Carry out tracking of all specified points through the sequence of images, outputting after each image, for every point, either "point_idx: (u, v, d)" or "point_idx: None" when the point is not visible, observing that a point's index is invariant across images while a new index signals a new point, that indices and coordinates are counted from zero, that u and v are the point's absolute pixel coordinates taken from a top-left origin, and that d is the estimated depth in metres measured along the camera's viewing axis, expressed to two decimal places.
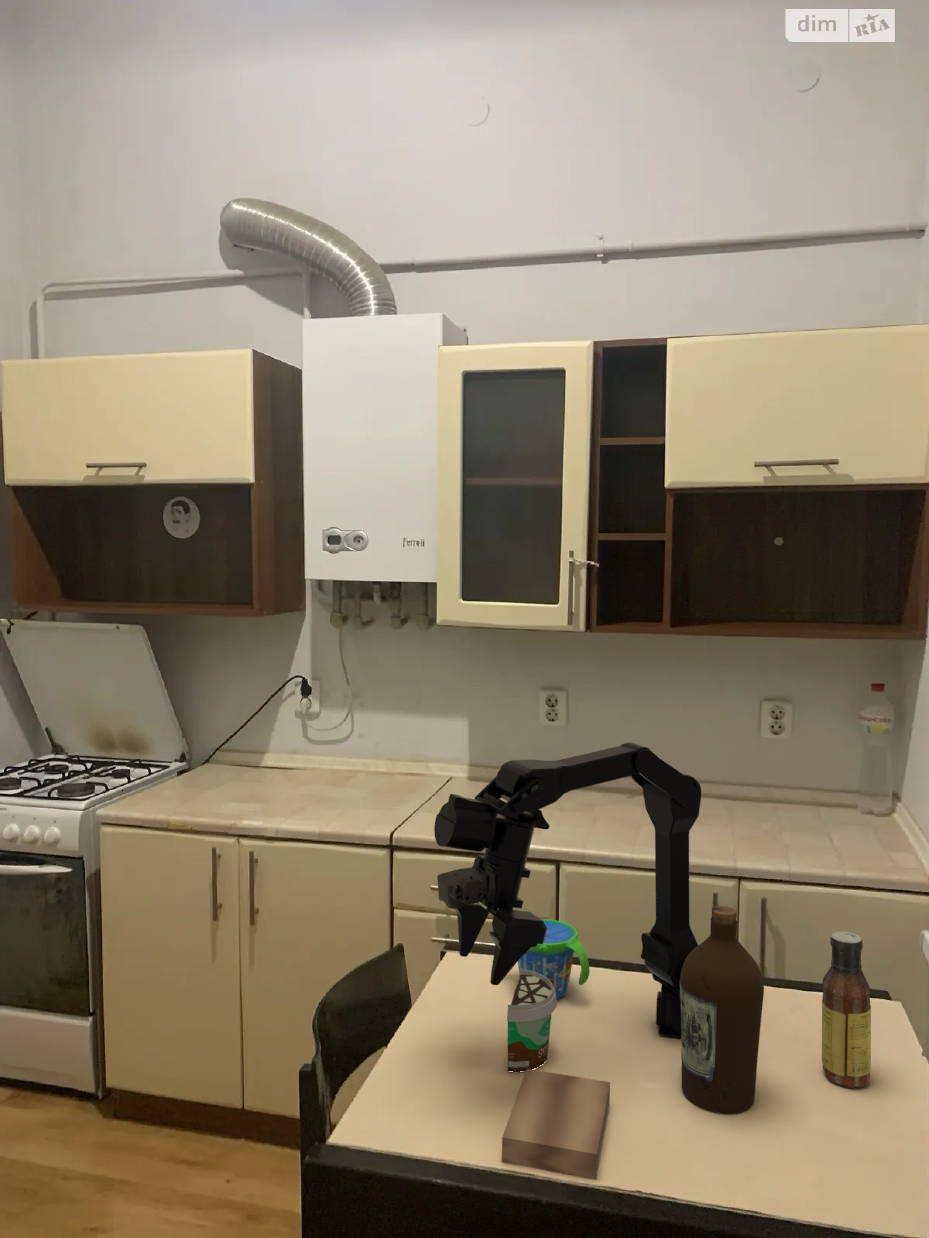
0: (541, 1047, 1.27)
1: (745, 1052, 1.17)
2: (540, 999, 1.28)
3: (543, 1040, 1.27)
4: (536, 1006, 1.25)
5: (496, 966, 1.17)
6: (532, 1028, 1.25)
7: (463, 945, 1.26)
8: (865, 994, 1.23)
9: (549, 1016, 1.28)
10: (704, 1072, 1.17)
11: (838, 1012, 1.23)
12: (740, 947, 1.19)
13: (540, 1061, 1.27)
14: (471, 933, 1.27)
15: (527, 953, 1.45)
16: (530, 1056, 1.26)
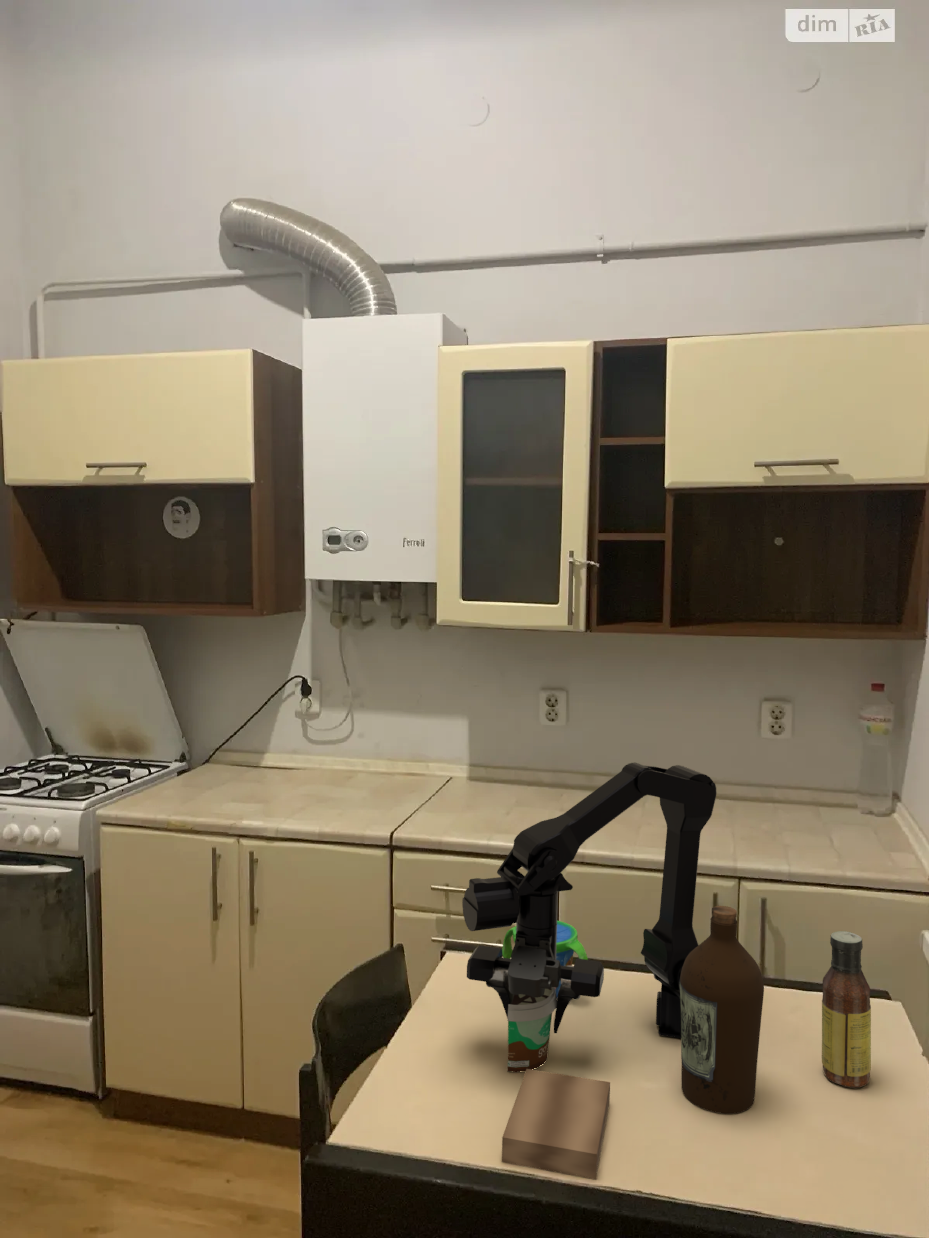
0: (541, 1047, 1.27)
1: (745, 1052, 1.17)
2: (540, 999, 1.28)
3: (543, 1040, 1.27)
4: (536, 1006, 1.25)
5: (561, 1017, 1.28)
6: (532, 1028, 1.25)
7: None
8: (865, 994, 1.23)
9: (549, 1016, 1.28)
10: (704, 1072, 1.17)
11: (838, 1012, 1.23)
12: (740, 947, 1.19)
13: (540, 1061, 1.27)
14: None
15: None
16: (530, 1056, 1.26)
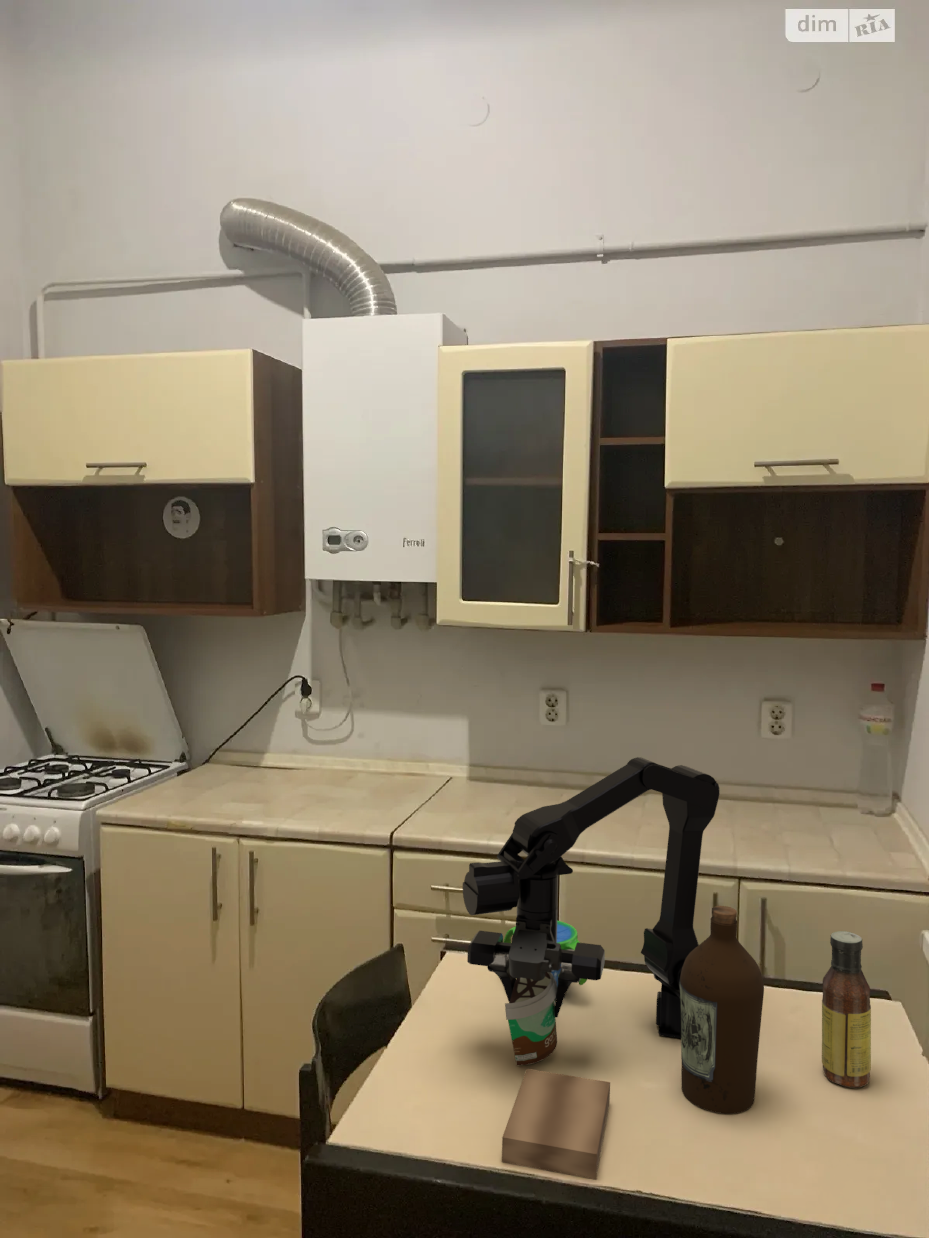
0: (547, 1037, 1.27)
1: (745, 1052, 1.17)
2: (539, 991, 1.28)
3: (548, 1030, 1.27)
4: (533, 1000, 1.25)
5: (562, 1001, 1.27)
6: (533, 1021, 1.25)
7: None
8: (865, 994, 1.23)
9: (550, 1006, 1.28)
10: (704, 1072, 1.17)
11: (838, 1012, 1.23)
12: (740, 947, 1.19)
13: (548, 1050, 1.28)
14: None
15: None
16: (537, 1047, 1.26)
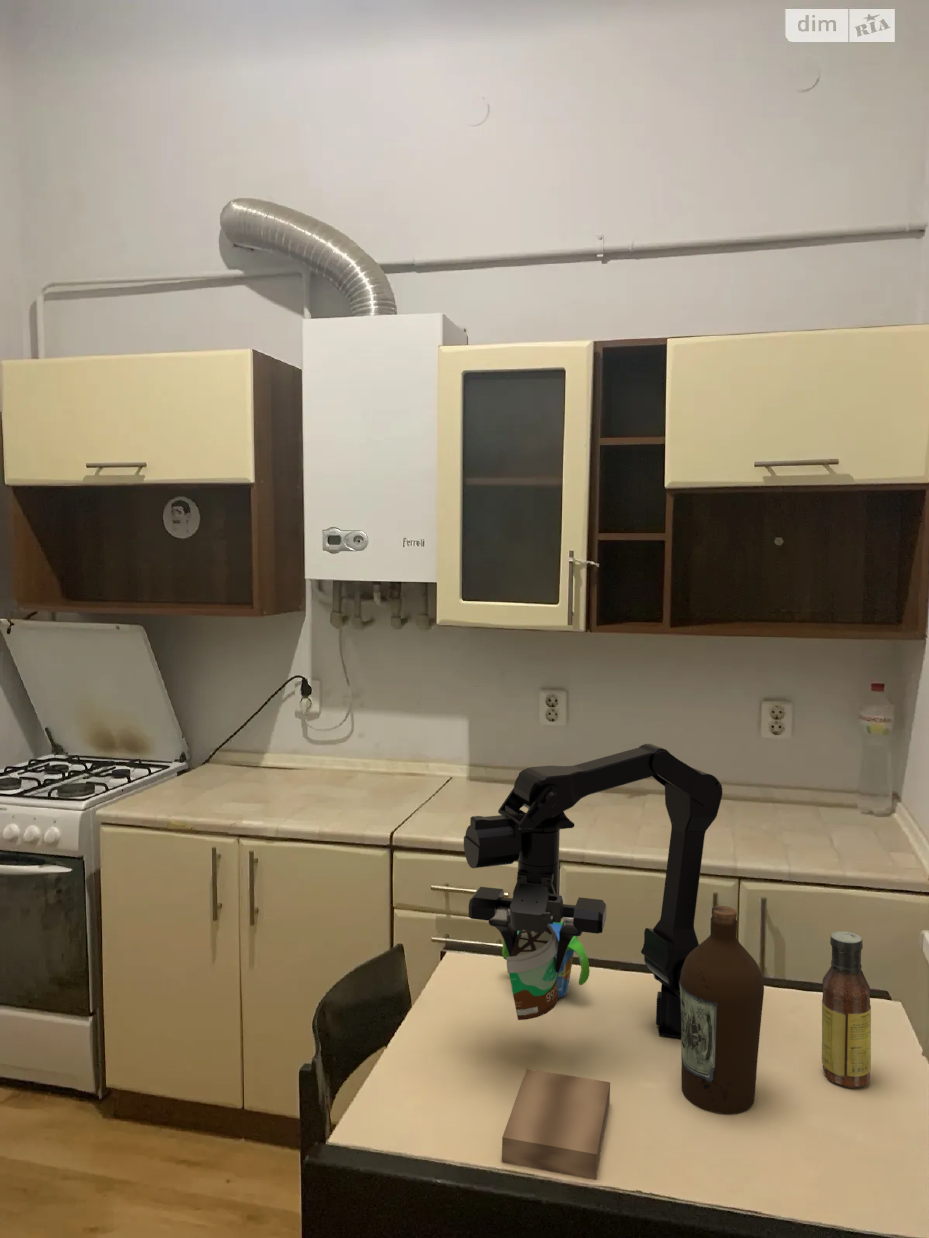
0: (548, 992, 1.27)
1: (745, 1052, 1.17)
2: (540, 945, 1.27)
3: (549, 984, 1.27)
4: (535, 954, 1.24)
5: None
6: (534, 975, 1.25)
7: None
8: (865, 994, 1.23)
9: (552, 960, 1.27)
10: (704, 1072, 1.17)
11: (838, 1012, 1.23)
12: (740, 947, 1.19)
13: (550, 1005, 1.27)
14: None
15: None
16: (538, 1002, 1.26)
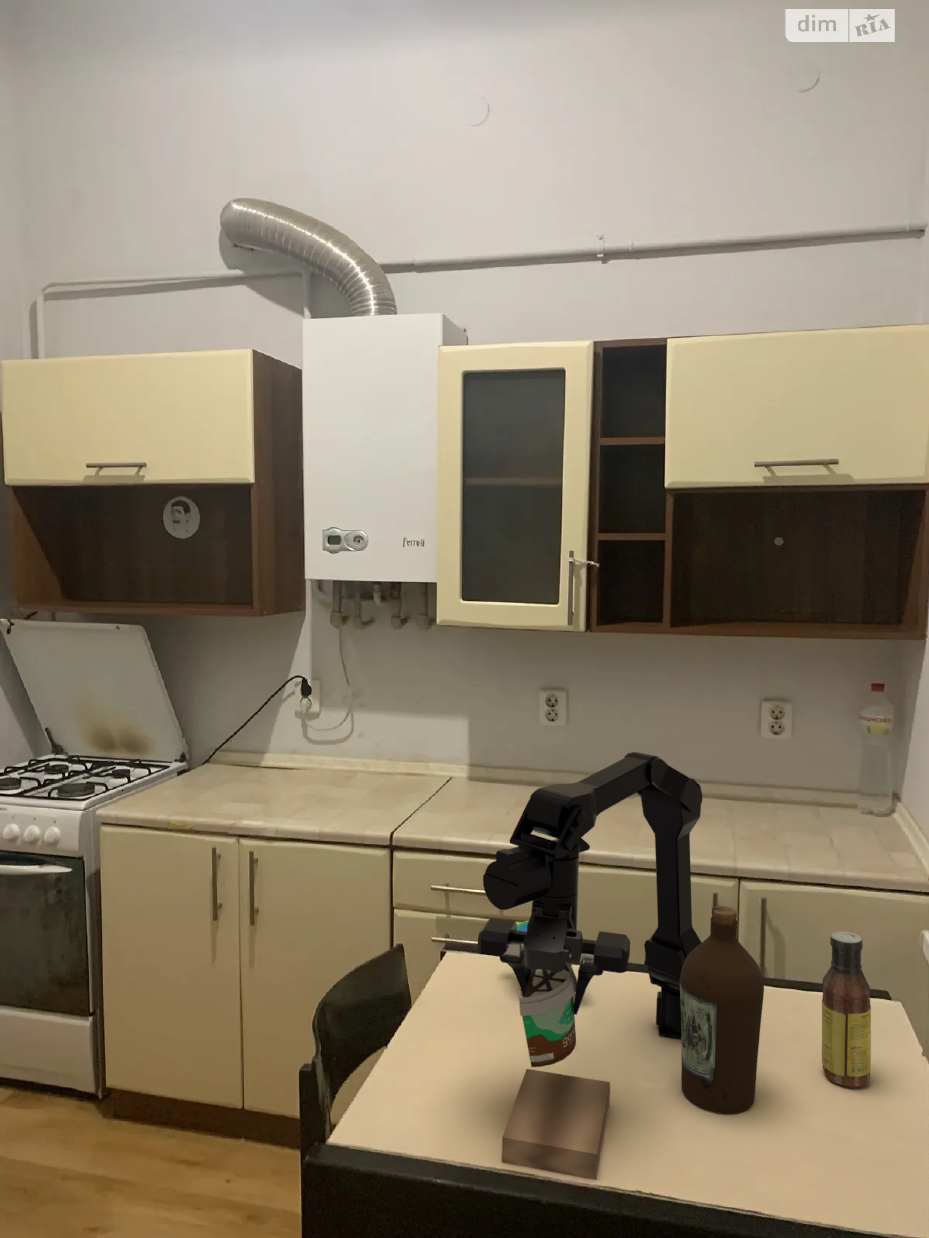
0: (565, 1036, 1.15)
1: (745, 1052, 1.17)
2: (557, 984, 1.15)
3: (566, 1028, 1.15)
4: (551, 995, 1.12)
5: (582, 996, 1.15)
6: (550, 1018, 1.13)
7: None
8: (865, 994, 1.23)
9: (569, 1001, 1.15)
10: (704, 1072, 1.17)
11: (838, 1012, 1.23)
12: (740, 947, 1.19)
13: (566, 1050, 1.15)
14: None
15: None
16: (554, 1047, 1.14)
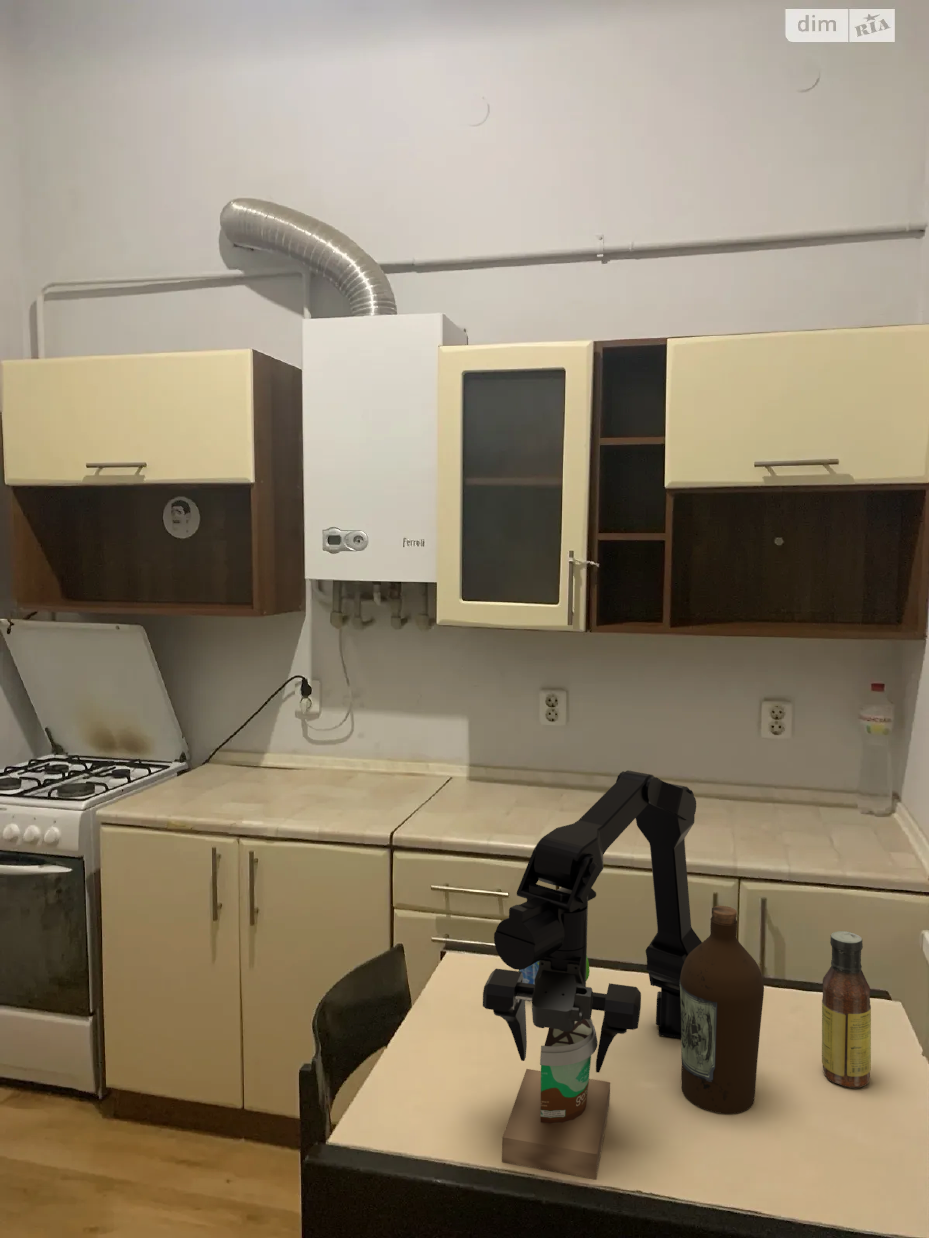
0: (579, 1094, 1.11)
1: (745, 1052, 1.17)
2: (578, 1039, 1.12)
3: (581, 1086, 1.11)
4: (574, 1048, 1.09)
5: (605, 1054, 1.10)
6: (568, 1073, 1.09)
7: (524, 1049, 1.13)
8: (865, 994, 1.23)
9: (588, 1058, 1.11)
10: (704, 1072, 1.17)
11: (838, 1012, 1.23)
12: (740, 947, 1.19)
13: (578, 1110, 1.11)
14: (524, 1032, 1.14)
15: None
16: (567, 1105, 1.10)
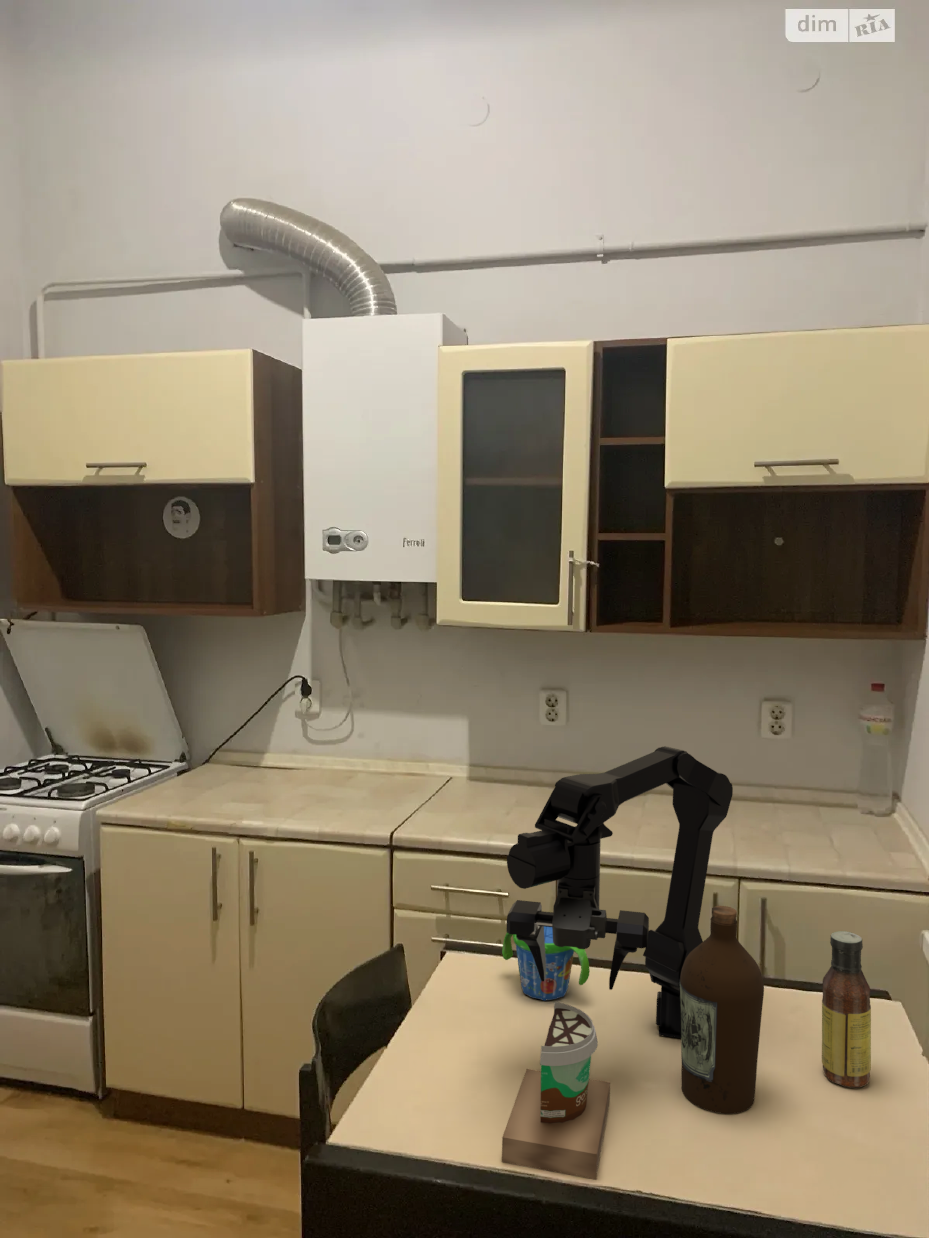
0: (579, 1094, 1.11)
1: (745, 1052, 1.17)
2: (578, 1039, 1.12)
3: (581, 1086, 1.11)
4: (574, 1048, 1.09)
5: (617, 972, 1.22)
6: (568, 1073, 1.09)
7: (544, 971, 1.25)
8: (865, 994, 1.23)
9: (588, 1058, 1.11)
10: (704, 1072, 1.17)
11: (838, 1012, 1.23)
12: (740, 947, 1.19)
13: (578, 1110, 1.11)
14: (544, 956, 1.26)
15: (527, 953, 1.45)
16: (567, 1105, 1.10)
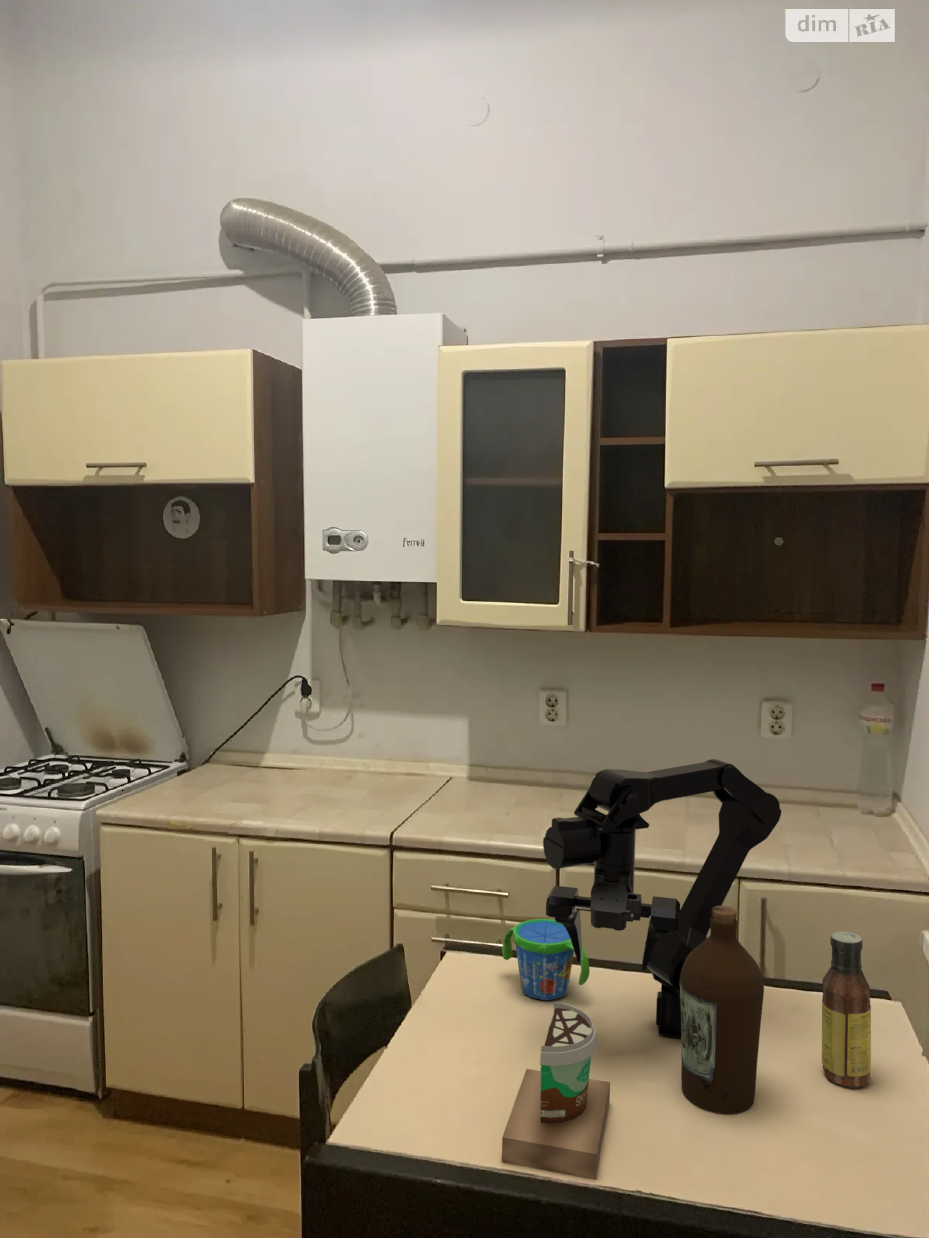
0: (579, 1094, 1.11)
1: (745, 1052, 1.17)
2: (578, 1039, 1.12)
3: (581, 1086, 1.11)
4: (574, 1048, 1.09)
5: (650, 954, 1.30)
6: (568, 1073, 1.09)
7: (580, 952, 1.33)
8: (865, 994, 1.23)
9: (588, 1058, 1.11)
10: (704, 1072, 1.17)
11: (838, 1012, 1.23)
12: (740, 947, 1.19)
13: (578, 1110, 1.11)
14: (580, 938, 1.34)
15: (527, 953, 1.45)
16: (567, 1105, 1.10)
